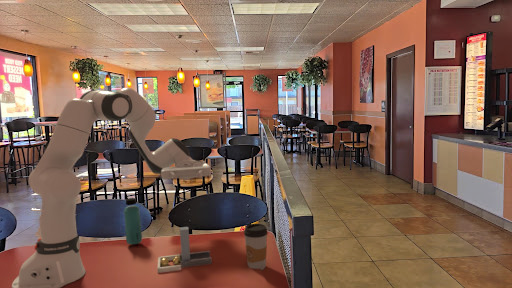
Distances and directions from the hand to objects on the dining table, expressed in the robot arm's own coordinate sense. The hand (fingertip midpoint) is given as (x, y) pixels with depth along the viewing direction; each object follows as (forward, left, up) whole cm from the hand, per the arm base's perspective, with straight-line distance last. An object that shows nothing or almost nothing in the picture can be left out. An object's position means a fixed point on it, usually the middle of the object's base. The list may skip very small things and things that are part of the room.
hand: (186, 175), depth 154 cm
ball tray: (-8, -17, -30) cm, 35 cm away
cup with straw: (-55, +7, -30) cm, 63 cm away
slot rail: (+1, -16, -30) cm, 34 cm away
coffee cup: (+22, -25, -30) cm, 45 cm away
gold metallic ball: (-10, -16, -29) cm, 35 cm away
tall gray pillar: (-2, -16, -29) cm, 33 cm away
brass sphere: (-7, -16, -29) cm, 34 cm away
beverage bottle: (-23, +10, -30) cm, 39 cm away
